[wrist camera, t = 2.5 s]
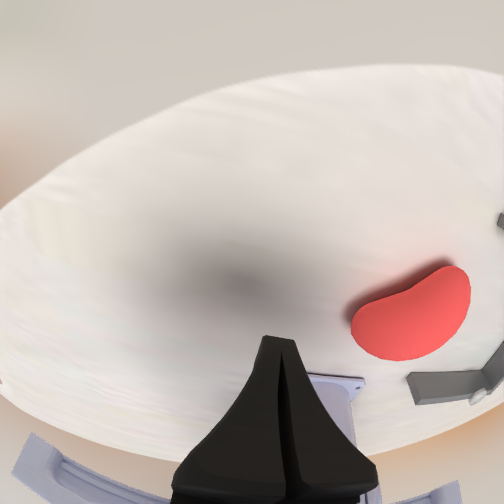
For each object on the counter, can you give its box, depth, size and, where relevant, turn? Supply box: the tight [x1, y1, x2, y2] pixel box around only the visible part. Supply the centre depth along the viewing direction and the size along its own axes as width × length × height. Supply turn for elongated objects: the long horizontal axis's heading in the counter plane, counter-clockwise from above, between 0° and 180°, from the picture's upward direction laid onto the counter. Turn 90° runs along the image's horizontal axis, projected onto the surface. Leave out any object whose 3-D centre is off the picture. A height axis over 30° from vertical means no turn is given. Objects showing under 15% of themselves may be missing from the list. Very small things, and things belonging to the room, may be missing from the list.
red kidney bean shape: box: [351, 266, 471, 361], centre depth 16 cm, size 5×9×6 cm, turn 108°
